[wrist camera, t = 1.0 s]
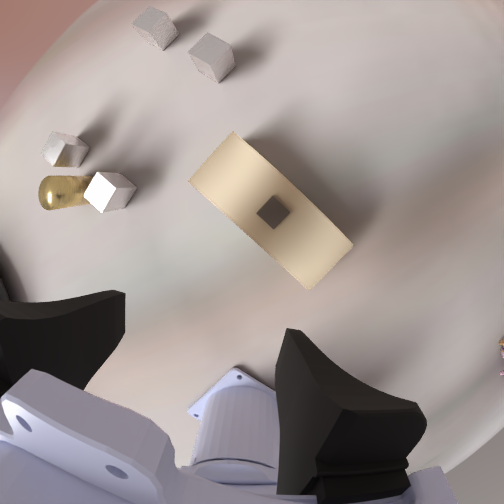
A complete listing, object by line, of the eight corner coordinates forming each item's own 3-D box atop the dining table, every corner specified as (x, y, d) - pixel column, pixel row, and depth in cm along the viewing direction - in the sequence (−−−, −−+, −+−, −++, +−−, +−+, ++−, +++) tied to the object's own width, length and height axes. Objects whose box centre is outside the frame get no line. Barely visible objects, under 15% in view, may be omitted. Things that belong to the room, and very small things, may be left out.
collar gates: (235, 65, 18) (230, 44, 14) (124, 208, 20) (101, 212, 17) (163, 26, 17) (149, 6, 14) (65, 155, 20) (40, 153, 16)
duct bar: (337, 234, 21) (355, 246, 16) (301, 272, 21) (309, 292, 17) (238, 141, 19) (232, 130, 15) (201, 182, 20) (186, 181, 16)
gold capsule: (102, 186, 20) (65, 187, 15) (89, 210, 21) (51, 217, 16) (84, 170, 20) (47, 169, 15) (72, 193, 20) (34, 197, 15)
